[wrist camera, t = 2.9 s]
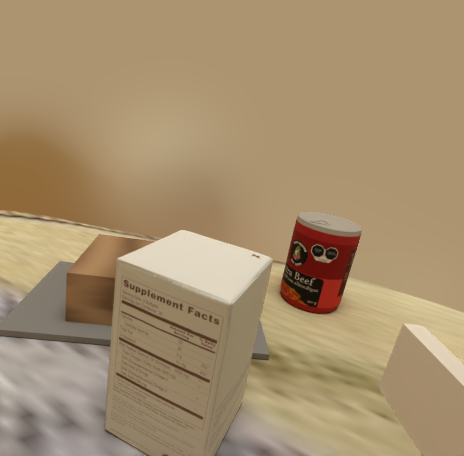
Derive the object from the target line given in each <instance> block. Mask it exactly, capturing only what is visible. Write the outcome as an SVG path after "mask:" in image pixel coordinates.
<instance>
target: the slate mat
mask: <svg viewBox="0 0 464 456" xmlns="http://www.w3.org/2000/svg"><path fill="white" fill-rule="evenodd" d="M73 265H74V263H70V262H62V261H60V262H59V263H58V264H57V265H56V266H55V267H54V268H53V269H52V270H51V271H50V272H49V273H48V274H47V275H46V276H45V277H44V278H43V279H42V280H41V281H40V282H39V283H38V284H37V285H36V286H35V287H34V289H33V290H32V291H31V292H30V293H29V294H28V295H27V296H26V297H25V298H24V299H23V300H22V301H21V302H20V303H19V304H18V305H17V306H16V307H15V308H14V309H13V310H12V311H11V312H10V313H9V314H8V315H7V316H6V318H5V319H4V320H3V321H2V322H1V323H0V336H10V337H21V338H32V339H43V340H54V341H66V342H77V343H88V344H99V345H111V330H112V326H106V325H96V324H86V323H76V322H65V312H66V278H67V272H68V270H69V269H70V268H71V267H72V266H73ZM252 358H254V359H265V360H268V358H269V351H268V348H267V344H266V340H265V337H264V333H263V330H262V326H261V322H259V326H258V331H257V335H256V340H255V344H254V349H253V353H252Z"/></svg>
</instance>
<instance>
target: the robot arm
mask: <svg viewBox="0 0 464 456" xmlns="http://www.w3.org/2000/svg"><path fill="white" fill-rule="evenodd" d="M378 388H379V389H380V391H381V393H382V394H383V396H384V397H385V399H386V400H387V402H388V403H389V405H390V406H391V408H392V409H393V411H394V413H395V414H396V416H397V417H398V419H399V420H400V422H401V423H402V425H403V426H404V428H405V430H406V431H407V433H408V434H409V436H410V437H411V439H412V440H413V442H414V443H415V445H416V447H417V448H418V450H419V451H420V453H421V454H422V456H464V364H463V363H462V362H461V361H460V360H459V359H458V358H457V357H456V356H454V355H453V354H452V353H451V352H450V351H449V350H448V349H447V348H446V347H445V346H444V345H443V344H442V343H441V342H440V341H439V340H438V339H437V338H436V337H434V336H433V335H432V334H431V333H430V332H429V331H428V330H427V329H426V328H425V327H424V326H421V325H413V324H404V323H403V325H402V327H401V330H400V333H399V335H398V338H397V340H396V343H395V346H394V348H393V351H392V353H391V356H390V359H389V361H388V364H387V367H386V369H385V372H384V374H383V377H382V380H381V382H380V385H379V387H378Z"/></svg>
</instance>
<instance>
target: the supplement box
mask: <svg viewBox="0 0 464 456" xmlns="http://www.w3.org/2000/svg"><path fill="white" fill-rule="evenodd" d="M272 263H273V259H272V258H270V257H268V256H265V255H262V254H260V253H257V252H254V251H250V250H247V249H244V248H241V247H238V246H234V245H231V244H228V243H225V242H221V241H218V240H215V239H212V238H208V237H205V236H202V235H199V234H196V233H192V232H189V231H185V230H180V231H178V232H176V233H174V234H172V235H170V236H167V237H165V238H163V239H160V240H158V241H156V242H154V243H151V244H149V245H147V246H145V247H142V248H140V249H138V250H136V251H133V252H131V253H129V254H126V255H124V256H122V257H119V258H117V260H116V276H115V289H114V304H113V317H112V330H111V345H110V359H109V374H108V388H107V402H106V417H105V429H106V430H108V431H109V432H110V433H112V434H114V435H115V436H117V437H119V438H120V439H122V440H124V441H126V442H127V443H129V444H130V445H132V446H134V447H136V448H137V449H139V450H141V451H142V452H144V453H146V454H147V455H149V456H214V455H215V454H216V452H217V450H218V448H219V446H220V444H221V442H222V440H223V438H224V436H225V434H226V433H227V431H228V429H229V427H230V425H231V423H232V421H233V419H234V417H235V415H236V413H237V411H238V409H239V407H240V406H241V404H242V398H243V394H244V389H245V385H246V381H247V376H248V371H249V367H250V362H251V358H252V353H253V349H254V344H255V340H256V335H257V331H258V326H259V322H260V317H261V313H262V308H263V304H264V299H265V295H266V290H267V286H268V281H269V277H270V272H271V267H272Z"/></svg>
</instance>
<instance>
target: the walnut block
mask: <svg viewBox="0 0 464 456" xmlns="http://www.w3.org/2000/svg"><path fill="white" fill-rule="evenodd" d="M151 243H154V241H147V240H139V239H131V238H124V237H116V236H108V235H101V234H99V235H98V236H97V238H96V239H95V240H94V241H93V242H92V243H91V245H90V246H89V247H88V248H87V249H86V250H85V252H84V253H83V254H82V255H81V256H80V258H79V259H78V260H77V261H76V262H75V263H74V265H73V266H72V267H71V268H70V269H69V270H68V272H67V278H66V312H65V322H76V323H86V324H96V325H106V326H112V317H113V304H114V289H115V276H116V260H117V258H119V257H122V256H124V255H126V254H129V253H131V252H133V251H136V250H138V249H140V248H142V247H145V246H147V245H149V244H151Z"/></svg>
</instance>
